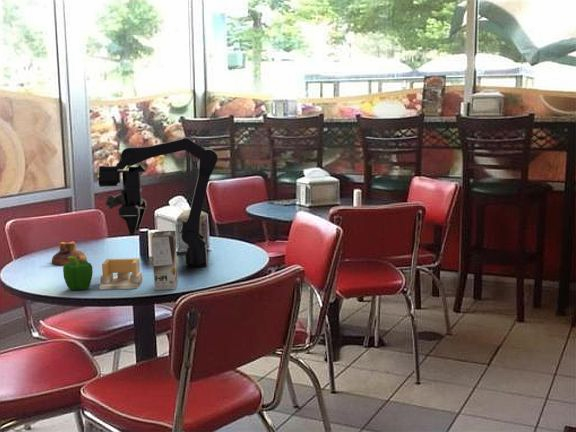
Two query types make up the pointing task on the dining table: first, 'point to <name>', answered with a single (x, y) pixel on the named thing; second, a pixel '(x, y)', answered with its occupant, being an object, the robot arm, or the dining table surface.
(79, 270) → the bell pepper
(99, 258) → the dining table surface
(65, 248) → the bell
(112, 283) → the cream flat studded block
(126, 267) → the orange bridge block
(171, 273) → the coffee box
